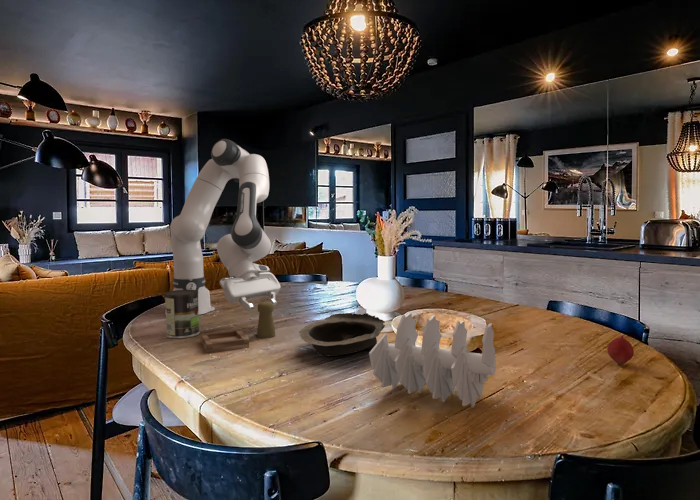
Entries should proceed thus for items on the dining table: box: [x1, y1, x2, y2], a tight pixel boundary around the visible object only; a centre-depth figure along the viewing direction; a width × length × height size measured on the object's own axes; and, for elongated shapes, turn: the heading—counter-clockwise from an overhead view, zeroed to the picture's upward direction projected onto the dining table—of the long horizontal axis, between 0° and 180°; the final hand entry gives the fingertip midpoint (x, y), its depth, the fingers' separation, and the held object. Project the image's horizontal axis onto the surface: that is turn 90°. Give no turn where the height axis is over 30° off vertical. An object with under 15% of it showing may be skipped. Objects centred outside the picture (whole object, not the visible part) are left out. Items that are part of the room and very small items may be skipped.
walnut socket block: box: [200, 329, 250, 354], centre depth 135 cm, size 12×12×2 cm
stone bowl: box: [298, 312, 386, 358], centre depth 129 cm, size 25×25×9 cm
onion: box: [607, 334, 635, 366], centre depth 116 cm, size 6×6×8 cm
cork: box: [256, 301, 277, 339], centre depth 145 cm, size 6×6×11 cm
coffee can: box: [164, 290, 200, 339], centre depth 147 cm, size 10×10×14 cm
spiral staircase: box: [368, 312, 497, 408], centre depth 97 cm, size 18×18×25 cm
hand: (263, 306), depth 147 cm, fingers open, 8 cm apart
